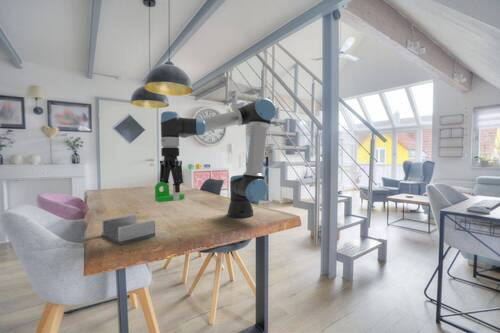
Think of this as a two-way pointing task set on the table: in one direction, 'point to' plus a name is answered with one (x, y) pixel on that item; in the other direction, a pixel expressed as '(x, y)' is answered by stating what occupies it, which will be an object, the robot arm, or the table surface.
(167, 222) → the table surface
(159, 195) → the mechanical part
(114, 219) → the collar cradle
